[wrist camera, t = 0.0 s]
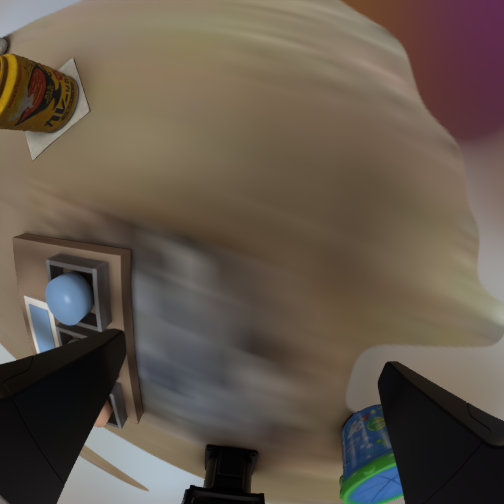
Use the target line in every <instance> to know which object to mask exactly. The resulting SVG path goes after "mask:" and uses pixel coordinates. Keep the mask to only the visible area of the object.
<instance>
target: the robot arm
mask: <svg viewBox="0 0 504 504" xmlns="http://www.w3.org/2000/svg"><path fill="white" fill-rule="evenodd" d="M126 354H127V348H126V338H125V332H124V331H123V330H120V329H116V328H112V329H109V330H106V331H103V332H100V333H97V334H94V335H92V336H89V337H86V338H83V339H80V340H77V341H74V342H71V343H68V344H65V345H62V346H59V347H56V348H53V349H50V350H47V351H44V352H41V353H38V354H35V355H34V356H33V355H32V356H29V357H26V358H23V359H19V360H16V361H12V362H8V363H4V364H0V504H57V501H58V499H59V497H60V495H61V492H62V490H63V488H64V485H65V483H66V481H67V479H68V477H69V474H70V472H71V470H72V468H73V466H74V464H75V462H76V460H77V458H78V456H79V454H80V452H81V450H82V448H83V446H84V444H85V442H86V440H87V438H88V435H89V434H90V431H91V430H92V428H93V426H94V424H95V422H96V420H97V418H98V416H99V414H100V413H101V411H102V409H103V407H104V405H105V403H106V401H107V399H108V398H109V396H110V394H111V392H112V390H113V387H114V385H115V383H116V380H117V378H118V375H119V373H120V370H121V368H122V365H123V363H124V360H125V358H126ZM378 390H379V395H380V400H381V406H382V412H383V417H384V421H385V425H386V429H387V432H388V436H389V439H390V443H391V447H392V450H393V454H394V458H395V462H396V466H397V470H398V474H399V478H400V482H401V487H402V491H403V496H404V500H405V504H504V421H503V420H501V419H498V418H496V417H494V416H492V415H490V414H488V413H486V412H484V411H482V410H480V409H478V408H476V407H475V406H473V405H471V404H469V403H466V401H464V400H462V399H461V398H459V397H457V396H455V395H454V394H452V393H450V392H448V391H447V390H445V389H443V388H442V387H440V386H438V385H436V384H435V383H433V382H431V381H430V380H428V379H426V378H424V377H423V376H421V375H419V374H418V373H416V372H414V371H413V370H411V369H409V368H408V367H406V366H404V365H402V364H401V363H399V362H397V361H393V362H392V361H390V362H387V363H386V364H385V366H384V368H383V370H382V373H381V375H380V377H379V380H378ZM257 457H258V452H257V451H251V450H241V449H232V448H224V447H217V446H210V445H208V446H206V449H205V470H206V475H205V480H204V486H203V487H197V486H195V485H190V488H189V489H186V490H185V494H184V498H183V501H182V503H181V504H265V499H264V493H259V494H256V493H251V476H252V474H253V471H254V468H255V464H256V460H257Z"/></svg>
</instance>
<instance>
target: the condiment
mask: <svg viewBox="0 0 504 504" xmlns="http://www.w3.org/2000/svg"><path fill="white" fill-rule="evenodd" d="M89 111H90V110H89V107H88V104H87V100H86V98H85V94H84V91H83V88H82V84H81V81H80V78H79V75H78V72H77V69H76V67H75V63H74V60H73V58H71V59H70V60H69V61H68V62H67V63H65V64H64V65H63V66H62V67H61V68H60V69H59V70H54V69H52V68H50V67H48V66H45V65H42V64H40V63H36V62H35V61H32V60H29V59H28V58H25V57H21V56H18V55H15V54H5V55H0V129H10V130H22V131H25V134H26V136H27V142H28V146H29V149H30V153H31V157H32V160H34V159H35V158H36V157H37V156H38V155H39V154H40V153H41V152H42V151H43V150H44V149H45V148H46V147H48V146H49V145H50V144H51V143H52V142H53V141H54V140H55V139H57V138H58V137H59V136H60V135H62V134H63V133H64V132H65V131H66V130H67V129H69V128H70V127H71V126H72V125H73V124H75V123H76V122H77V121H78V120H79V119H81V118H82V117H83V116H85V115H86V114H87V113H88V112H89ZM39 132H41V133H39ZM42 132H43V133H42Z"/></svg>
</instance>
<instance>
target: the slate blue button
mask: <svg viewBox="0 0 504 504" xmlns="http://www.w3.org/2000/svg"><path fill="white" fill-rule="evenodd" d="M45 297H46V302H47V305H48V307H49V309H50V311H51V313H52V314H53V315H54V317H55V318H56V319H57V320H59V321H60V322H61V323H63V324H66V325H75V324H77V323H78V322H79V321H80V320H81V319H82V318H84V317H85V316H86V315H87V314H88V313H89V312H90V311H91V310H92V308H93V304H94V297H93V292H92V289H91V287H90V285H89V284H88V282H87V281H86V280H85V279H84V278H83V277H82V276H81V275H80V274H78V273H76V272H72V271H68V272H65V273H64V274H62V275H60V276H58V277H56V278H55V279H53V280H51V281H50V282H49V283H48V284H47V286H46V290H45Z"/></svg>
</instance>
